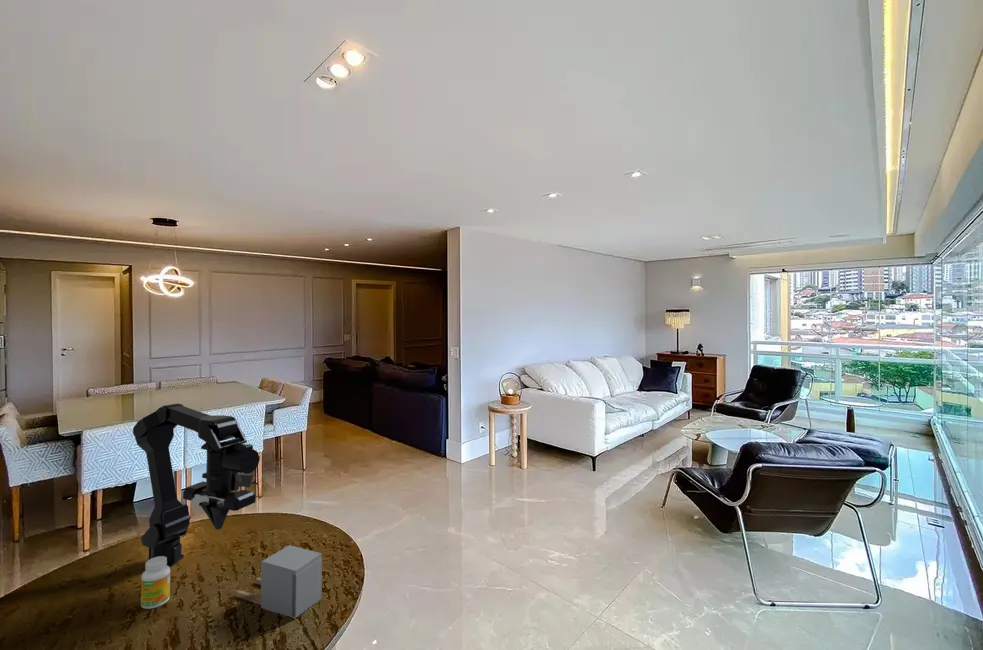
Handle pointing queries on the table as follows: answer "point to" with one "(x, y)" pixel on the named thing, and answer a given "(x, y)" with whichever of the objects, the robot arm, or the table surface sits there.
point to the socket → (291, 581)
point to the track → (250, 596)
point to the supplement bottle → (155, 583)
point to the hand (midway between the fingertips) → (218, 528)
